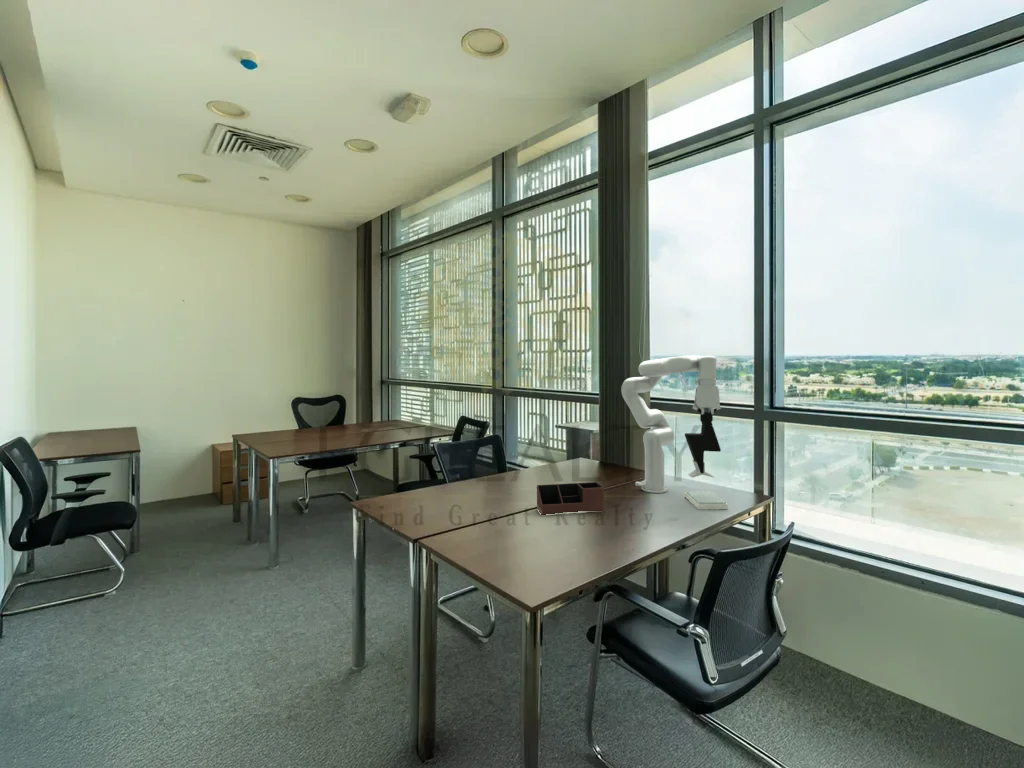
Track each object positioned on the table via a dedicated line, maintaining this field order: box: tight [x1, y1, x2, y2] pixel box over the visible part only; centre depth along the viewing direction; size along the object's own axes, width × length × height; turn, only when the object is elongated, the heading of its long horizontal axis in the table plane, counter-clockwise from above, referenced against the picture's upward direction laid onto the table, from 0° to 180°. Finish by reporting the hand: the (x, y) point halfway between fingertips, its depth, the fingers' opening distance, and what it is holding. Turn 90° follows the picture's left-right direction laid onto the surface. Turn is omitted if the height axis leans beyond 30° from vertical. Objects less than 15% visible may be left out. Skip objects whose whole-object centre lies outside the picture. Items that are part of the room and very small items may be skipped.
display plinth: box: [684, 490, 729, 511], centre depth 226 cm, size 13×19×3 cm
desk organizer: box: [536, 481, 605, 515], centre depth 218 cm, size 10×29×11 cm, turn 99°
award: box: [684, 410, 722, 478], centre depth 225 cm, size 15×5×30 cm, turn 87°
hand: (706, 422), depth 224 cm, fingers closed on award
